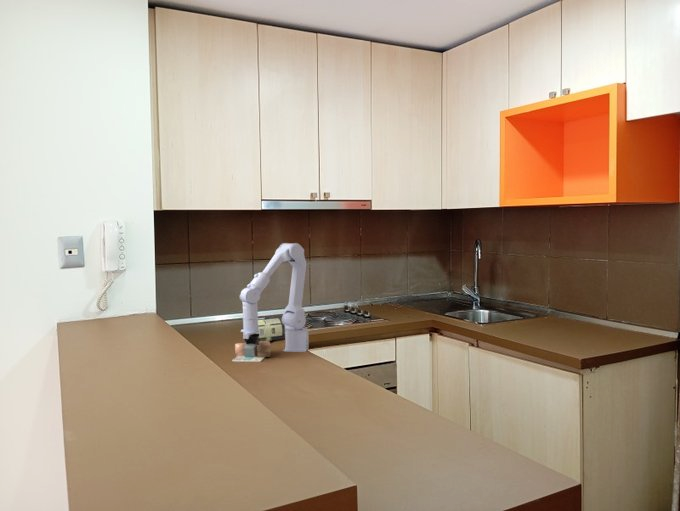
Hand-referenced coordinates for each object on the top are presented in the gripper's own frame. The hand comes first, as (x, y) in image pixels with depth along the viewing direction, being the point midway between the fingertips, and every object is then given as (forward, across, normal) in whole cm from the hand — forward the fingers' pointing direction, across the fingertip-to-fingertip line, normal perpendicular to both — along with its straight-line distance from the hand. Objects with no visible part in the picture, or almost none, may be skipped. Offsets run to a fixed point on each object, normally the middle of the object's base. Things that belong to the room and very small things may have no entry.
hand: (251, 353), depth 212 cm
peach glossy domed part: (+1, -1, -5) cm, 5 cm away
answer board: (+2, 0, 0) cm, 2 cm away
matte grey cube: (0, +1, 0) cm, 1 cm away
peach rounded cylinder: (+1, -5, +4) cm, 6 cm away
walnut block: (+1, +1, +5) cm, 5 cm away
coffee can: (-3, -23, -8) cm, 25 cm away
